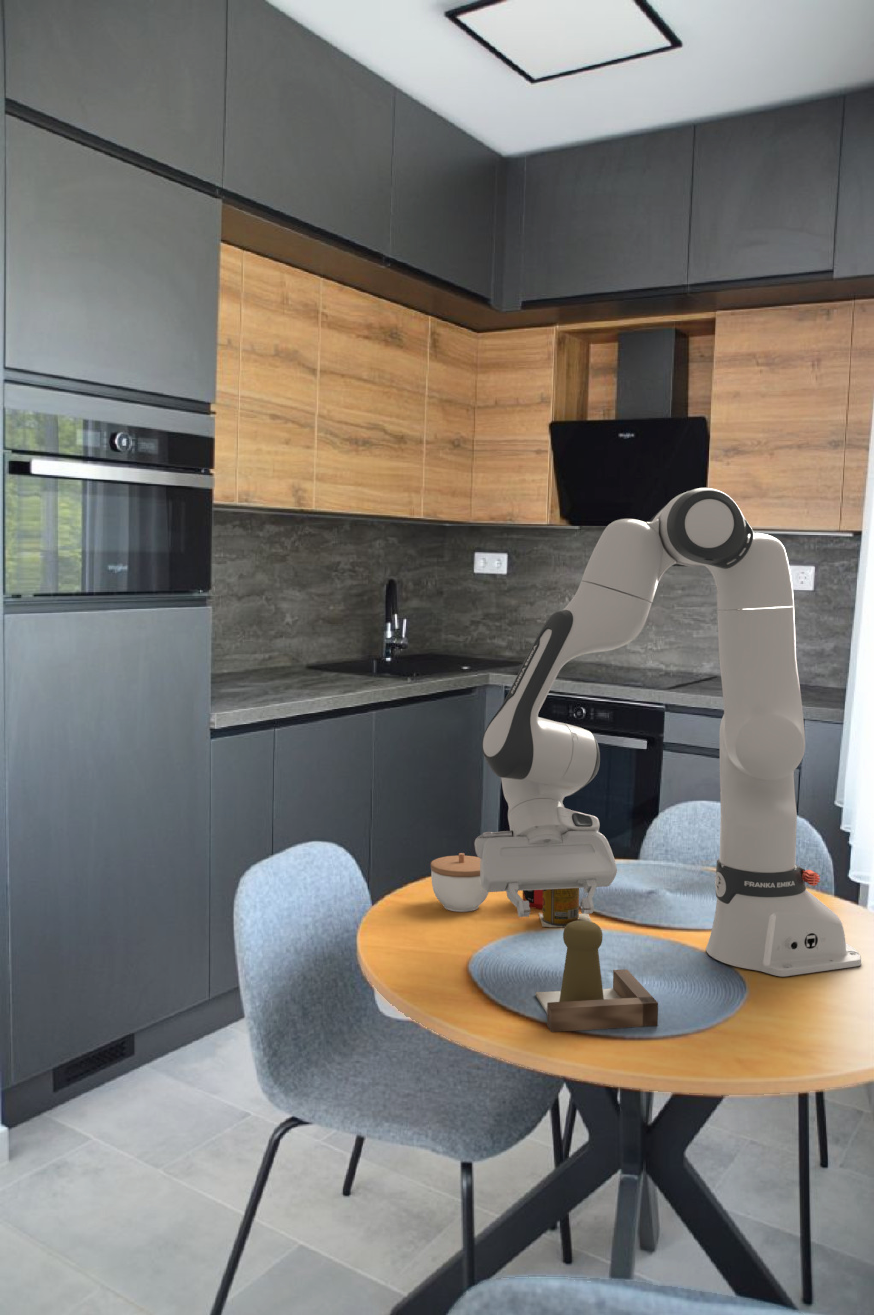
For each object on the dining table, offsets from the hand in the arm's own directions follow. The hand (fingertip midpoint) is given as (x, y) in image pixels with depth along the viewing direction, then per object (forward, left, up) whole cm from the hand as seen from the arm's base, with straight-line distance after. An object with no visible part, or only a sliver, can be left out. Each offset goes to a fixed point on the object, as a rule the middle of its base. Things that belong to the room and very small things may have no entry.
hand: (556, 913), depth 154 cm
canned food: (-7, -34, -9) cm, 35 cm away
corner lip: (-1, +13, -9) cm, 16 cm away
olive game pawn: (0, +12, -9) cm, 15 cm away
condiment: (-8, -24, -9) cm, 27 cm away
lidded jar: (+8, -34, -9) cm, 36 cm away
